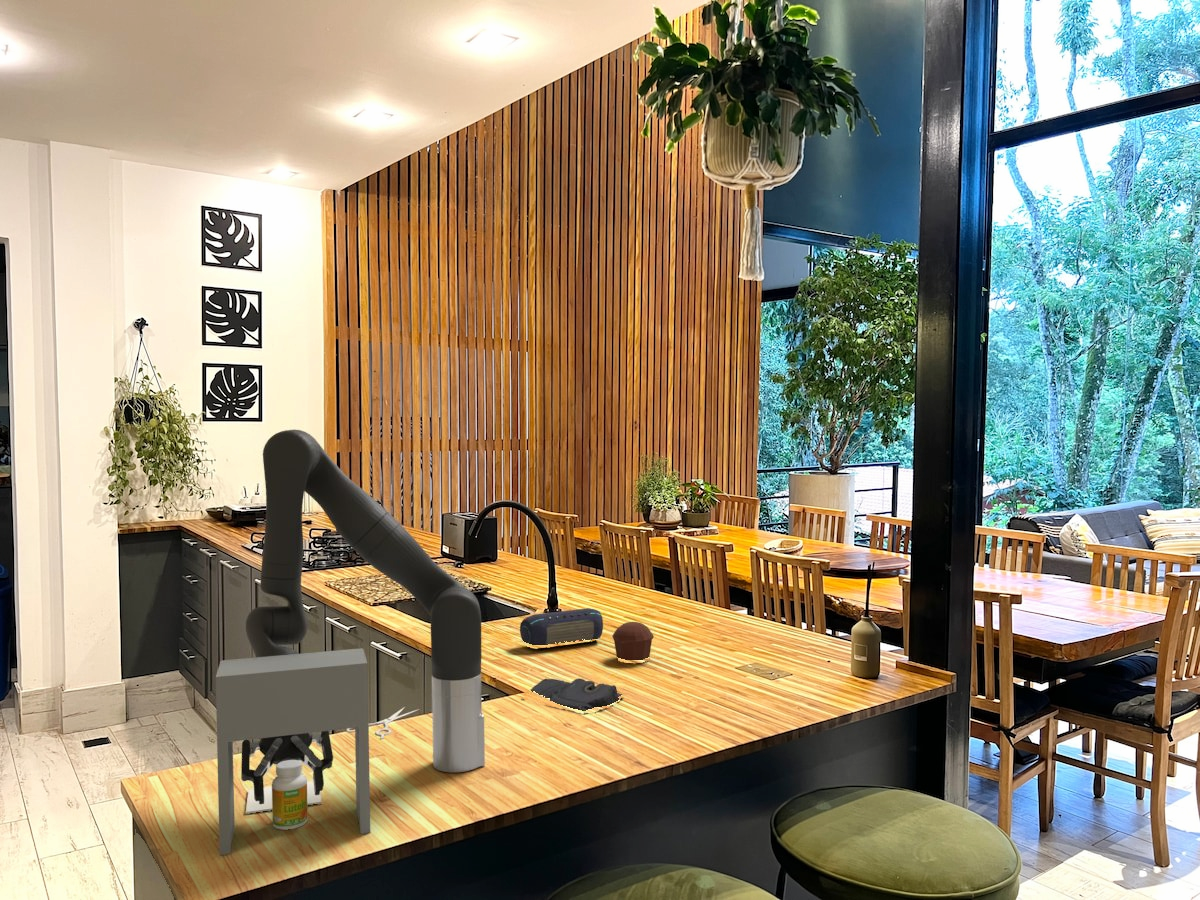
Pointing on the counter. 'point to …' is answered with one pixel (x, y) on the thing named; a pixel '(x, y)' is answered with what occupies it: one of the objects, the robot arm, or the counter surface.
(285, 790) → the supplement bottle
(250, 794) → the white flat rectangular board
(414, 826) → the counter surface
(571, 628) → the portable speaker
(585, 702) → the crumpled dark grey cloth
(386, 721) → the scissors
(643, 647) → the muffin
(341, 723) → the grey rectangular arch
